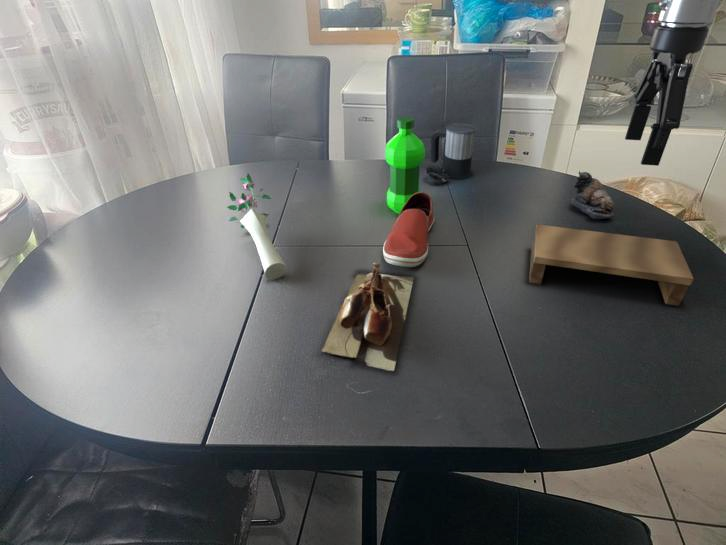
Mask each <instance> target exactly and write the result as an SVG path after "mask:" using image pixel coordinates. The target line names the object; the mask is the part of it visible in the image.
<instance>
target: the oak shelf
mask: <svg viewBox="0 0 726 545" xmlns="http://www.w3.org/2000/svg"><path fill="white" fill-rule="evenodd" d="M530 248H531V249H530V259H529V278H528V283H531V284H538V285H542V283H543V282H542V281H543V278H544V274H545V270H546V266H552V267H560V268H568V269H573V270H581V271H588V272H596V273H601V274H607V275H613V276H615V275H616V276H621V277H622V276H623V277H628V278H629V277H630V278H636V279H642V280H651V281H657V283H658V286H659V289H660V291H661V295H662V299H663V301H664V304H666V305H670V306H677V307H678V306H680V305H681V303H682V301H683V299H684V297H685V294H686V293H687V291H688V289H689V286H691V285H692V283H693V281H694V278H695V277H694V276H693V274H692V271H691V270H690V267H689V265H688V262H687V260H686V258H685V256H684V253H683V252H682V249H681V247H680V245H679V242H678V241H676V240H667V239H660V238H652V237H644V236H637V235H628V234H627V235H626V234H620V233H611V232H602V231H594V230H585V229H578V228H577V229H576V228H572V227H571V228H570V227H562V226H561V227H560V226H552V225H544V224H536V225H535V230H534V234H533V239H532V244H531V247H530Z"/></svg>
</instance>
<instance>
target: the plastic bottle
mask: <svg viewBox="0 0 726 545" xmlns="http://www.w3.org/2000/svg"><path fill="white" fill-rule="evenodd" d="M396 128H397V129H398V133H397V134H396V135H395V134H394V136H393V137H392V138H390V140H388V141H387V142H386V145H385V148H384V150H385V151H384V152H385V155H384V156H385V161H386V163H387V164H388V165H389V188H388V189H387V192H386V205H387V207H388V208H389V209H391V210H392V211H394V212H395V213H396V214H398V215H400V212H401V210H402V208H403V206H404V205H405V204H406V202H407V201H408V199H409V198H410V197H411V196H412V195H414V194H416V193H419V192H421V190H420V188H419V187H420V166H421V164H422V163H424V161H425V158H426V149H425V144H424V142H423V140H421V139H420V138H419V137H418V136H417V135H416V134H414V133H413V132H412V130H413V128H415V118H414V117H411V116H401V117H398V118H397V119H396Z"/></svg>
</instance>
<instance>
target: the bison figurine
mask: <svg viewBox="0 0 726 545" xmlns="http://www.w3.org/2000/svg"><path fill="white" fill-rule="evenodd" d="M578 175H579V176H578V177H577V178H576V180H575V184H574V186H573V187H574V189H576V195H574V196H573V197H572V199H571V203H572V205H573V206H574V207H575V208H576V209H578V210H580V211H581V212H583V213H585V214H587V215H588V216H589V217H590V218H592V219H594V220H605V219H611V218H612V217H614V213H613V210H614V208H615V205H614V201H613V199H612V198H611V197H610V196H609V194H608V192H607V191H606V189H605V186H604V184H603V183H602V182H601V181H599V179H597V178H594V177H593V176H592V174H591V173H589V172H588V171H581V170H579V171H578Z"/></svg>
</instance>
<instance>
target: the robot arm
mask: <svg viewBox="0 0 726 545" xmlns="http://www.w3.org/2000/svg"><path fill="white" fill-rule="evenodd" d="M720 1H721V0H660V2H659V3H658V7H659V8H660V12H659V15H658V19H657V21H658V22H660V24H657V25H656V26H655V27H654V30H653V34H652V37H651V40H650V43H649V49H650V50H651V51H652V53H651V55H650V60H649V63H648V65H647V66H646V68H645V71H644V73H643V75H642V76H641V79H640V82H639V84H638V86H637V87H636V90H635V93H634V94H633V99H635V100H634V107H633V110H632V114H631V118H630V121H629V124H628V127H627V131H626V134H625V137H624V139H625V141H641V140H642V137H643V134H644V131H645V128H646V125H647V122H648V119H649V116H650V113H651V110H652V106H654V105H655V98H656V96H657V95H658V99H657V100H658V101H657V109H656V110H657V111H656V120H655V123H653V124H652V125H651V126H650V129H651V131H650V135H649V136H648V140H647V143H646V146H645V149H644V153H643V155H642V158H641V160H640V165H643V166H656V167H658V166H660V163H661V160H662V157H663V156H664V155H663V154H664V152H665V149H666V147H667V143H668V140H669V139H670V135H671V133H672V130H674V129H675V130H676V129H677V130H678V129H679V128H680V126H681V120H682V116H683V115H682V114H683V110H684V104H685V99H686V96H687V89H688V85H689V79H690V76H691V74H692V70H693V63H686V60H687V56H689V55H690V54H696V53H699V52H700V51H701V50H703V46H704V44H705V41H706V38H707V35H708V33H709V29H710V28H709V26H708V24H710V23H711V22H712V21H713V20H714V18H715V15H716V12H717V9H718V7H719V5H720V4H719V3H720Z"/></svg>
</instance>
